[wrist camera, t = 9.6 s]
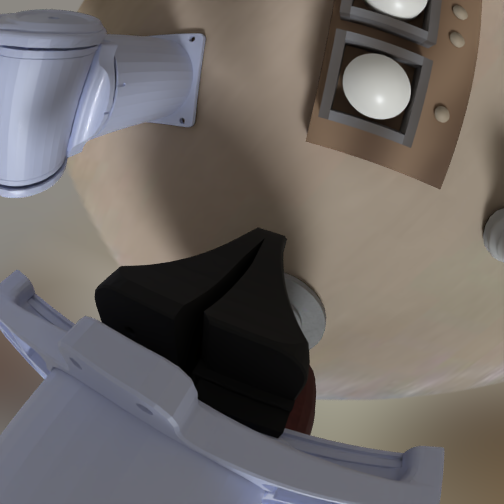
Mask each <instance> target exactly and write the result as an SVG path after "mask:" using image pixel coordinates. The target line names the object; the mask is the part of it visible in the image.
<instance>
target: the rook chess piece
mask: <svg viewBox="0 0 504 504" xmlns="http://www.w3.org/2000/svg"><path fill="white" fill-rule="evenodd" d="M483 238H484V245H485V247H486V249H487V250H488V252H490V254H491V255H492V257H494V258H495V259H497V260H498V261H502V262H504V208H503V209H500V210H497V211H496V212H495V213H494V214H493V215H492V216H490V218H489V220H488V222H487V223H486V225H485V230H484V234H483Z"/></svg>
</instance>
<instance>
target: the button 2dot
mask: <svg viewBox="0 0 504 504" xmlns="http://www.w3.org/2000/svg"><path fill="white" fill-rule="evenodd" d="M363 2H364V4H365V5H366V7H367V8H368V9H369V10H370V11H372V12H376V13H379V14H382V15H385V16H388V17H391V18H394V19H397V20H400V21H403V22H409V21H411V20H413V19H415V18H416V17H417V16H418V15H419V13H420V12H421V11H422V10H423V9H424V8H425V6H426V4H427V0H363Z"/></svg>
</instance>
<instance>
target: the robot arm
mask: <svg viewBox="0 0 504 504" xmlns="http://www.w3.org/2000/svg"><path fill="white" fill-rule="evenodd" d="M193 37H195V40H194V41H193V42H192V38H193ZM205 40H206V37H205V35H203V34H201V33H186V34H167V35H155V36H145V37H144V36H133V35H118V34H107V30H106V29H105V28H104V27H103V25H102V23H101V21H100V20H99V19H98V18H96V17H94V16H91V15H88V14H84V13H79V12H73V11H66V10H53V9H40V10H27V11H21V12H17V13H7V14H0V196H2V197H9V198H21V197H27V196H32V195H35V194H38V193H40V192H43V191H44V190H46V189H48V188H50V187H51V186H53V185H54V184H55V183H56V182H57V181H58V180H59V179H60V178H61V176H62V175H63V173H64V171H65V168H66V164H67V158H68V157H71V156H73V155H75V154H78V153H80V152H82V149H83V147H84V145H85V143H86V142H87V141H89V140H91V139H94V138H96V137H99V136H102V135H105V134H108V133H111V132H114V131H117V130H120V129H124V128H127V127H130V126H134V125H137V124H141V123H144V122H150V123H159V124H167V125H175V126H182V127H191V126H193V125H194V123H195V117H196V107H197V98H198V90H199V82H200V74H201V67H202V60H203V53H204V47H205ZM182 118H184V119H185V123H183V122H182ZM286 240H287V239H286V237H285V236H283V235H280V234H277V233H274V232H271V231H267V230H264V229H261V228H256V229H254V230H252V231H250V232H248V233H247V234H245V235H243V236H241V237H239V238H237V239H235V240H233V241H231V242H229V243H227V244H225V245H223V246H220V247H218V248H216V249H214V250H211V251H208V252H206V253H203V254H199V255H196V256H193V257H190V258H185V259H181V260H176V261H172V262H166V263H160V264H152V265H140V266H120V267H119V268H118V269H117V270H116V271H115V272H113V273H112V274H111V275H110V276H109V277H108V278H107V279H106V280H104V281H103V282H102V283H101V284H100V285H99V286H98V287H97V289H96V290H95V301H96V306H97V309H98V312H99V315H100V318H101V321H102V322H100V321H98V320H96V319H93V318H91V317H88V316H84V317H83V318H81V319H80V320H79V321H78V322H77V323H76V324H74V323H73V322H71V321H70V320H69V319H67V318H66V317H64V316H63V315H61V314H60V313H59V312H58V311H56V310H55V309H54V308H53V307H51V306H50V305H49V304H48V303H46V302H45V301H44V300H43V299H41V298H40V297H39V296H37V294H35V290H34V288H33V285H32V284H31V282H30V280H29V279H28V278H27V277H26V276H25V275H24V274H23V273H21V272H20V271H19V270H16V271H14V272H13V273H12V274H11V275H9V276H8V277H7V278H6V279H5V280H3V281H2V282H1V283H0V329H1V331H2V333H3V334H4V336H5V337H6V338H7V339H8V340H9V341H10V343H11V344H12V345H13V346H14V347H15V348H16V349H17V350H18V352H19V353H20V354H21V355H22V356H23V357H24V358H25V359H26V361H27V362H28V363H29V364H30V365H31V366H32V367H33V368H34V369H35V370H36V371H37V372H38V373H39V374H40V375H41V376H42V377H43V378H44V379H45V380H44V381H43V382H42V383H41V384H40V386H39V387H38V388H37V389H36V390H35V391H34V393H33V394H32V395H31V397H30V398H29V399H28V400H27V401H26V403H25V404H24V405H23V406H22V408H21V409H20V410H19V411H18V413H17V414H16V415H15V416H14V418H13V419H12V420H11V422H10V423H9V424H8V426H7V427H6V428H5V429H4V431H3V432H2V434H1V435H0V504H439V503H440V496H441V488H442V479H443V466H444V448H443V447H431V446H417V447H413V448H411V449H409V450H407V451H406V452H405V453H398V452H390V451H383V450H376V449H370V448H364V447H359V446H354V445H349V444H344V443H339V442H335V441H330V440H326V439H322V438H318V437H314V436H311V435H307V434H303V433H300V432H296V431H293V430H290V429H286V428H285V426H286V423H287V420H288V417H289V414H290V412H291V411H292V409H293V406H294V403H295V400H296V398H297V397H298V395H299V394H300V392H301V391H302V390H303V388H304V387H305V385H306V383H307V380H308V375H309V363H310V360H309V343H308V341H307V339H306V338H305V336H304V334H303V332H302V330H301V328H300V326H299V324H298V322H297V320H296V317H295V315H294V312H293V309H292V307H291V304H290V301H289V297H288V293H287V289H286V284H285V278H284V269H283V252H284V248H285V244H286Z"/></svg>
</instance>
